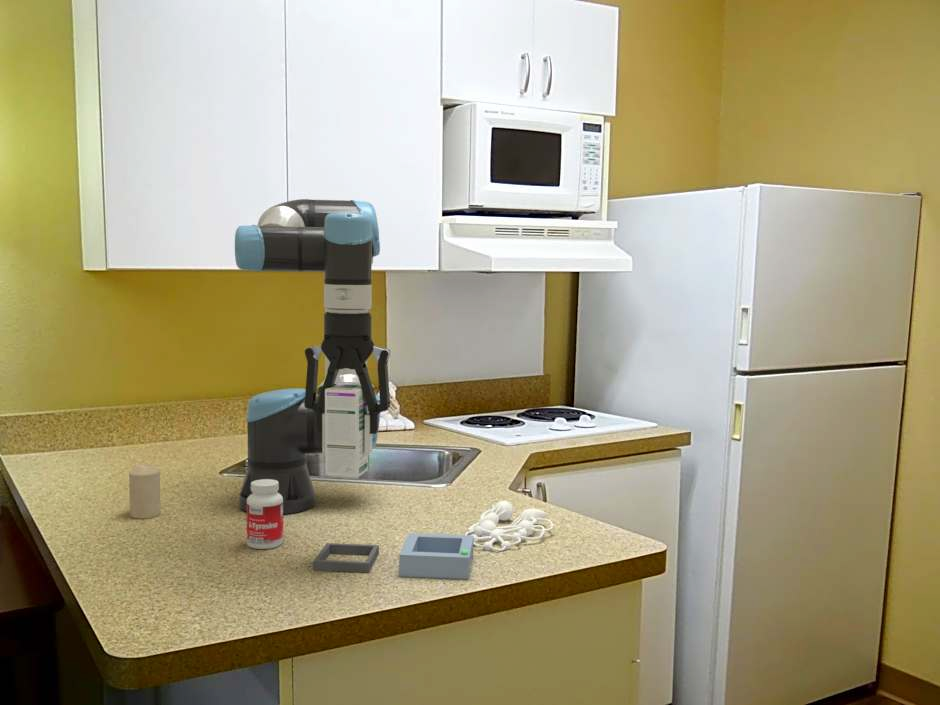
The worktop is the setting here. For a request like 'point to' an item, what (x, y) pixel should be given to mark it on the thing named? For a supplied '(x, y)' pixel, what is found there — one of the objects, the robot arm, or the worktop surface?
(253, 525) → the pill bottle
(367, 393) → the robot arm
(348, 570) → the grey picture frame
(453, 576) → the frame
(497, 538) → the tangled rod sculpture
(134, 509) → the candle
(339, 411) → the syrup box
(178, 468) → the worktop surface
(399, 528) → the worktop surface
